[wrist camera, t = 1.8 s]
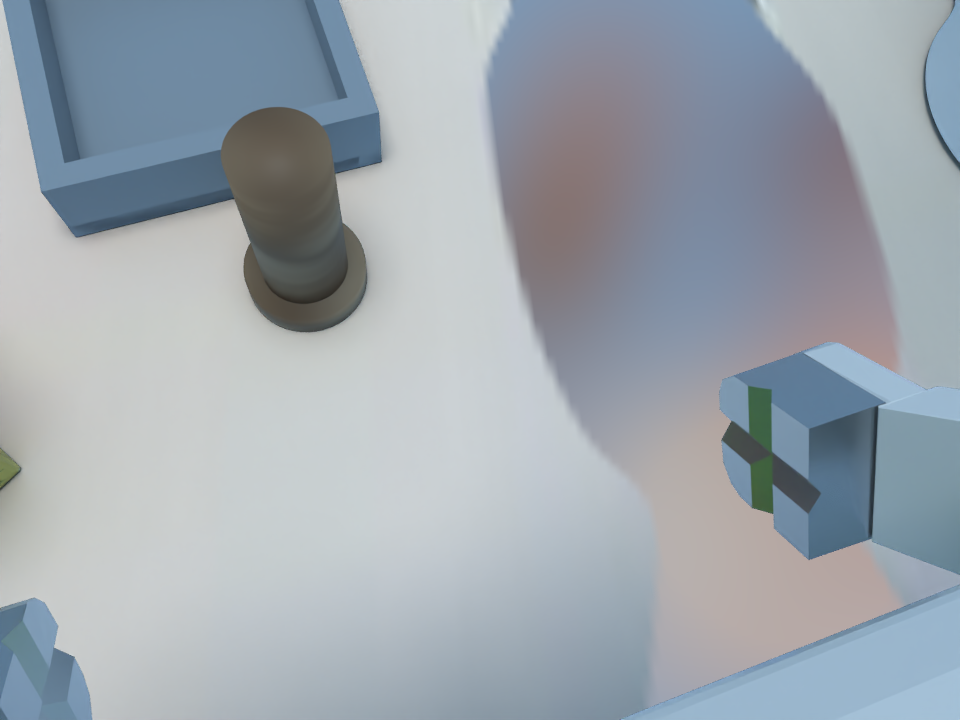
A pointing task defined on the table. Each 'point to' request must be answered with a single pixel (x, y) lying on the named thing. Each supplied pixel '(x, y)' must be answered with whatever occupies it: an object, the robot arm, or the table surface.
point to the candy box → (7, 468)
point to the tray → (175, 95)
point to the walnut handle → (293, 220)
